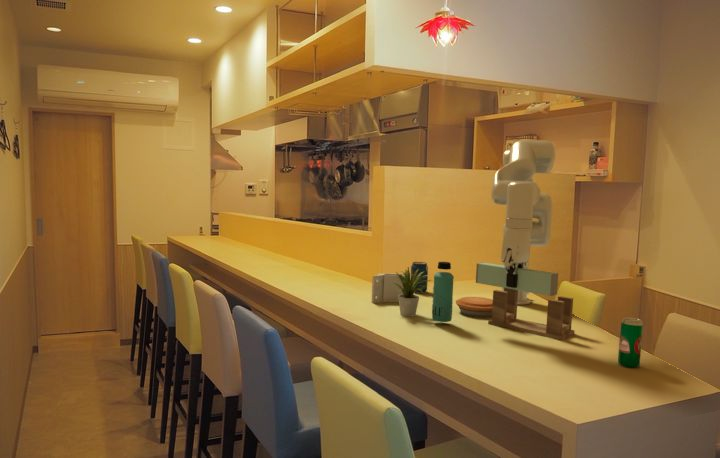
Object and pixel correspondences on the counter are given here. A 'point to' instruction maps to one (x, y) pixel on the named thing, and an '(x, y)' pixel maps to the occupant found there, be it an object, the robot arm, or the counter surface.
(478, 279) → the rail
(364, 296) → the counter surface
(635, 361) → the soda can
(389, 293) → the hinge
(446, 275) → the beverage bottle
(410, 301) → the house plant
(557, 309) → the post stand
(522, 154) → the robot arm
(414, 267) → the soda can
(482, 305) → the pie
